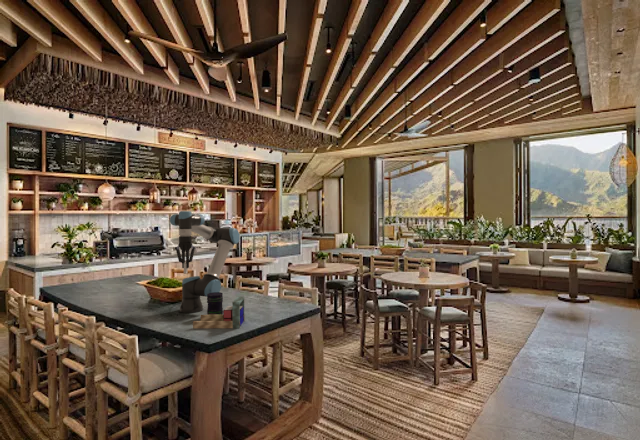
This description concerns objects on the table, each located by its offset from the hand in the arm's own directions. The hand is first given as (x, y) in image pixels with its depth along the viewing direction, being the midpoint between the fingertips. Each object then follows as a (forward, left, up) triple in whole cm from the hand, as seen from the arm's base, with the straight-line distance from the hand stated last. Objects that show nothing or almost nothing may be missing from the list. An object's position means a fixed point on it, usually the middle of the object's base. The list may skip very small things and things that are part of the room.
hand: (185, 273), depth 238 cm
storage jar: (+16, +8, -30) cm, 35 cm away
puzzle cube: (+32, -9, -30) cm, 44 cm away
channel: (+24, -10, -29) cm, 39 cm away
